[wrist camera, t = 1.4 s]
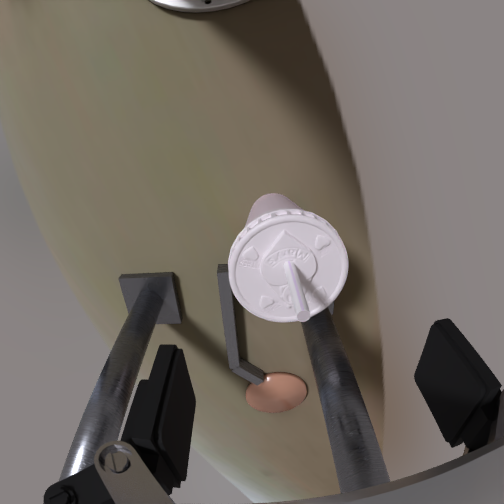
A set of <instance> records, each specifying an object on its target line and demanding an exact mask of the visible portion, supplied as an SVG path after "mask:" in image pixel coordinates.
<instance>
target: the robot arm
mask: <svg viewBox="0 0 504 504" xmlns="http://www.w3.org/2000/svg"><path fill="white" fill-rule="evenodd" d="M149 1H151V2H152V3H154V4H156V5H159V6H161V7H164V8H166V9H171V10H176V11H180V12H196V13H198V12H211V11H217V10H222V9H227V8H231V7H234V6H237V5H240V4H243V3H245V2H247V1H249V0H149ZM207 1H211V2H212V3H210V4H205V3H206V2H207ZM414 377H415V382H416V384H417V386H418V387H419V389H420V391H421V393H422V395H423V397H424V399H425V401H426V403H427V404H428V407H429V408H430V411H431V412H432V414H433V416H434V418H435V420H436V422H437V424H438V426H439V429H440V431H441V433H442V434H443V437H444V438H445V441H446V442H449V443H450V445H451V447H452V448H453V447H455V446H458V445H460V444H462V443H463V442H464V443H465V445H466V446H465V450H464V453H463V456H461V457H459V458H457V459H454V460H452V461H450V462H447V463H444V464H442V465H440V466H437V467H434V468H431V469H429V470H426V471H423V472H420V473H417V474H414V475H411V476H408V477H405V478H402V479H398V480H395V481H391V482H388V483H384V484H381V485H377V486H373V487H369V488H365V489H360V490H356V491H351V492H346V493H341V494H335V495H330V496H324V497H317V498H310V499H303V500H294V501H284V502H272V503H254V504H504V390H503V391H502V392H501V390H500V388H501V386H502V385H501V384H500V382H499V381H498V379H497V378H496V377H495V375H494V374H493V373H492V371H491V370H490V369H489V367H488V366H487V365H486V363H485V362H484V361H483V359H482V358H481V357H480V355H479V354H478V353H477V352H476V350H475V349H474V348H473V347H472V345H471V344H470V343H469V342H468V340H467V339H466V338H465V337H464V335H463V334H462V333H461V332H460V331H459V329H458V328H457V327H456V326H455V324H454V323H453V322H452V321H451V320H450V319H448V318H447V319H442V320H437V321H435V322H434V324H433V325H432V326H431V328H430V331H429V334H428V337H427V340H426V343H425V346H424V349H423V352H422V355H421V358H420V360H419V363H418V366H417V369H416V371H415V375H414ZM195 406H196V399H195V395H194V391H193V387H192V384H191V380H190V376H189V373H188V369H187V365H186V361H185V357H184V353H183V350H182V349H178V348H177V346H176V345H160V346H159V348H158V351H157V355H156V358H155V361H154V364H153V367H152V370H151V373H150V376H149V380H141V381H140V382H139V384H138V387H137V390H136V393H135V396H134V399H133V403H132V405H131V408H130V412H129V415H128V418H127V421H126V424H125V428H124V431H123V434H122V438H121V441H111V442H107V443H105V444H104V445H102V446H101V447H100V448H99V449H98V450H97V451H96V454H95V456H94V464H93V465H91V466H89V467H87V468H85V469H83V470H81V471H79V472H77V473H75V474H73V475H71V476H69V477H67V478H65V479H63V480H61V481H59V482H57V483H55V484H53V485H51V486H50V487H49V488H48V489H47V490H46V492H45V495H44V503H43V504H175V503H174V501H173V500H172V499H171V498H170V496H169V495H170V494H172V488H173V487H177V488H180V484H181V481H185V480H186V476H187V467H188V459H189V452H190V444H191V436H192V428H193V421H194V414H195Z"/></svg>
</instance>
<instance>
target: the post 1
mask: <svg viewBox="0 0 504 504" xmlns="http://www.w3.org/2000/svg"><path fill="white" fill-rule="evenodd" d="M119 282H120V286H121V289H122V293H123V296H124V300H125V303H126V306H127V310H128V313H129V315H128V317H127V319H126V321H125V323H124V325H123V327H122V329H121V331H120V333H119V335H118V337H117V339H116V342H115V344H114V346H113V348H112V350H111V352H110V354H109V356H108V359H107V361H106V363H105V365H104V367H103V370H102V372H101V374H100V376H99V379H98V381H97V383H96V386H95V388H94V390H93V393H92V395H91V397H90V400H89V402H88V404H87V407H86V409H85V412H84V414H83V417H82V419H81V422H80V424H79V427H78V429H77V432H76V434H75V437H74V440H73V442H72V445H71V448H70V450H69V453H68V456H67V459H66V462H65V465H64V467H63V470H62V473H61V477H60V479H59V481H61V480H63V479H65V478H67V477H69V476H71V475H73V474H75V473H77V472H79V471H81V470H83V469H85V468H87V467H89V466H91V465H93V464H94V456H95V454H96V451H97V450H98V449H99V448H100V447H101V446H102V445H104V444H105V443H107V442H111V441H117V440H118V436H119V433H120V430H121V426H122V423H123V420H124V416H125V413H126V410H127V407H128V403H129V400H130V397H131V394H132V391H133V388H134V385H135V382H136V379H137V376H138V373H139V370H140V367H141V364H142V361H143V358H144V355H145V352H146V349H147V347H148V344H149V341H150V338H151V335H152V333H153V330H154V327H155V324H178V323H181V322H182V314H181V310H180V305H179V300H178V295H177V290H176V285H175V280H174V275H173V272H164V273H142V274H121V276H120V277H119Z"/></svg>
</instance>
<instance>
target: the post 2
mask: <svg viewBox="0 0 504 504" xmlns="http://www.w3.org/2000/svg"><path fill="white" fill-rule="evenodd" d="M333 309H334V301H333V302H332V303H331V304H330V305H329V306H328V307H327V308H325V309H324V310H322V311H321V312H319V313H318V314H316V315H314V316H312V317H310V318H309V320H307V321H305V322H301V324H302V328H303V332H304V336H305V340H306V344H307V348H308V352H309V356H310V360H311V364H312V368H313V372H314V376H315V380H316V384H317V388H318V392H319V397H320V401H321V405H322V409H323V414H324V418H325V422H326V427H327V431H328V436H329V440H330V445H331V449H332V454H333V458H334V463H335V467H336V472H337V477H338V481H339V486H340V491H341V493H346V492H351V491H356V490H360V489H365V488H369V487H373V486H377V485H381V484H384V483H388V482H390V479H389V476H388V472H387V469H386V466H385V463H384V460H383V456H382V453H381V450H380V447H379V444H378V441H377V438H376V435H375V432H374V429H373V426H372V423H371V420H370V418H369V415H368V412H367V409H366V406H365V403H364V400H363V398H362V395H361V392H360V389H359V387H358V384H357V381H356V378H355V376H354V373H353V370H352V368H351V365H350V362H349V360H348V357H347V354H346V352H345V349H344V346H343V344H342V341H341V339H340V336H339V334H338V331H337V328H336V326H335V323H334V321H333V318H332V316H331V315H332V314H333Z"/></svg>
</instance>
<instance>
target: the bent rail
mask: <svg viewBox="0 0 504 504" xmlns="http://www.w3.org/2000/svg"><path fill="white" fill-rule="evenodd" d="M217 277H218V285H219V293H220V301H221V309H222V317H223V325H224V332H225V339H226V347H227V354H228V361H229V368H230V369H232V372H234V373H235V374H237V375H239V376H241V377H243V378H244V379H246V380H248V381H250V382H252V383H253V384H255V385H257V386H258V385H259V384H260V383H262V382H263V381H264V376H263V371H262V370H261V369H259V368H257V367H255V366H254V365H252V364H250V363H249V362H247V361H245V360H244V359H242V358H240V356H239V347H238V338H237V328H236V319H235V309H234V299H233V291H232V289H231V286H230V282H229V269H228V264H218V270H217Z"/></svg>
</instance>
